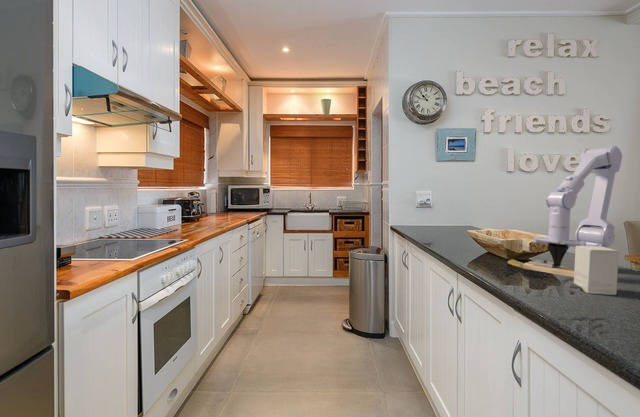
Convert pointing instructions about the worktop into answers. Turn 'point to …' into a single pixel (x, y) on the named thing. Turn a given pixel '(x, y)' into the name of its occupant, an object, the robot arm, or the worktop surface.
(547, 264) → the lever cap
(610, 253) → the supplement box
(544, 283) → the worktop surface
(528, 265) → the board
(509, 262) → the lever
